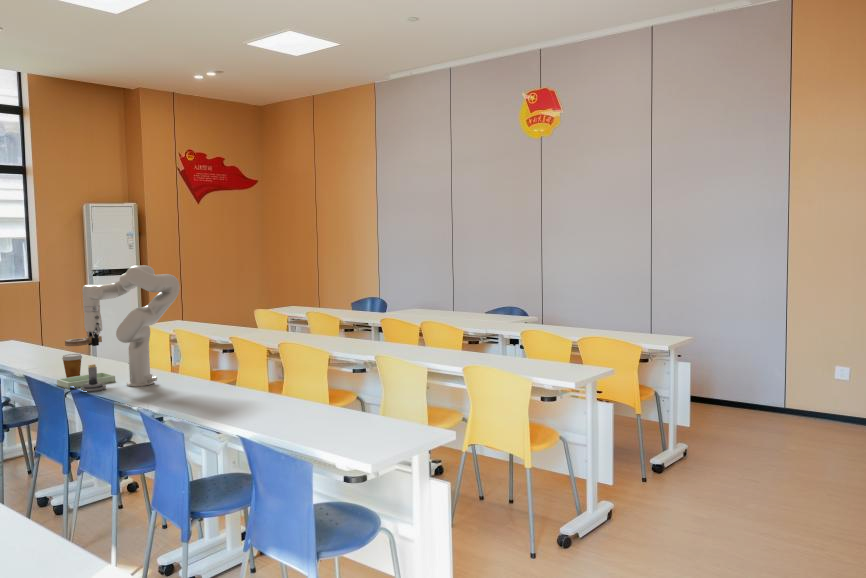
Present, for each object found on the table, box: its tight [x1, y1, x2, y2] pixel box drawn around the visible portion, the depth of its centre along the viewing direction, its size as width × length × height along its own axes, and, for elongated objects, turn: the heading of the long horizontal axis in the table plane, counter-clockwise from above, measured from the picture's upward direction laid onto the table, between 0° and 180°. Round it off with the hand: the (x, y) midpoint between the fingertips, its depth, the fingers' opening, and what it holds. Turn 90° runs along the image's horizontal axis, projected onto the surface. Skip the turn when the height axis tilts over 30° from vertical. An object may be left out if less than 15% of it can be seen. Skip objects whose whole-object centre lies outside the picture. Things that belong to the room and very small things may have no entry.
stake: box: [80, 363, 107, 393], centre depth 334 cm, size 11×11×12 cm
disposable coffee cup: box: [61, 353, 83, 378], centre depth 365 cm, size 10×10×12 cm
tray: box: [56, 371, 116, 390], centre depth 349 cm, size 23×15×3 cm, turn 138°
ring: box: [64, 335, 103, 347], centre depth 347 cm, size 16×10×3 cm, turn 141°
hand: (93, 344), depth 351 cm, fingers closed on ring, 3 cm apart
